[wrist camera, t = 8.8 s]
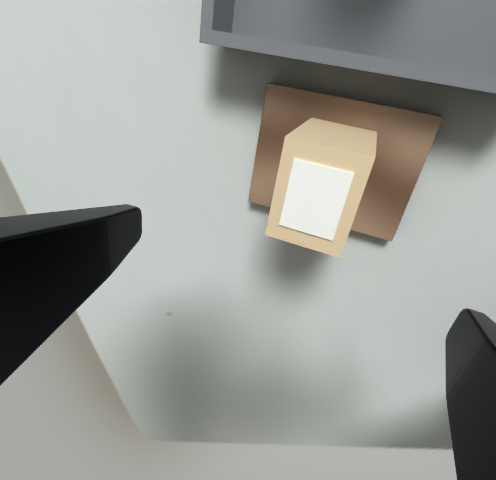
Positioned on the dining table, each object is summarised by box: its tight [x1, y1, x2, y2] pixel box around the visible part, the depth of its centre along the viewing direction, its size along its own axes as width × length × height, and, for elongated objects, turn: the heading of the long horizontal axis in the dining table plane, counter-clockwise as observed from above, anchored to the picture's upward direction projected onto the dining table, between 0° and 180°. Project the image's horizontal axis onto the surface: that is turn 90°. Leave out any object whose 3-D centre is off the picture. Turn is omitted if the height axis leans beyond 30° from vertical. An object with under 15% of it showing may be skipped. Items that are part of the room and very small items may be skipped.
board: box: [249, 83, 443, 241], centre depth 19 cm, size 7×9×1 cm
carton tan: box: [265, 118, 377, 258], centre depth 16 cm, size 4×4×6 cm
